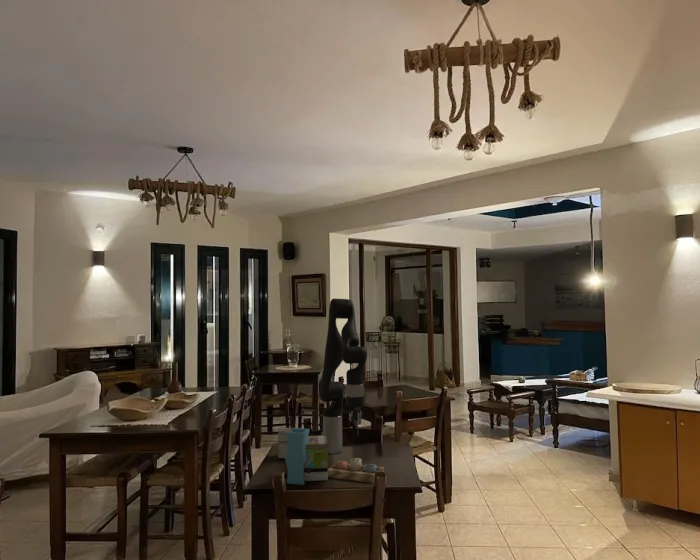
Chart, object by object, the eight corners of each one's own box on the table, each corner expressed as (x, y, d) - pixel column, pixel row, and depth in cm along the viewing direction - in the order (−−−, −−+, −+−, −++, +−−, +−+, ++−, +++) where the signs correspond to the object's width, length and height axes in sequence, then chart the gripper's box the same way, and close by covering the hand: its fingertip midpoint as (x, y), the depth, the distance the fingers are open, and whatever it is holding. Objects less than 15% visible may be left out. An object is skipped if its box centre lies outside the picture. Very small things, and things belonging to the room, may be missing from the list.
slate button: (363, 476, 217) (363, 466, 217) (367, 473, 221) (367, 462, 222) (374, 478, 215) (374, 467, 215) (378, 474, 220) (378, 464, 220)
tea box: (328, 480, 215) (328, 443, 215) (303, 481, 214) (303, 444, 214) (326, 469, 230) (326, 434, 230) (302, 470, 229) (302, 435, 229)
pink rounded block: (333, 473, 222) (333, 463, 222) (338, 469, 226) (338, 459, 226) (344, 474, 220) (344, 464, 220) (348, 471, 224) (348, 461, 224)
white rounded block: (348, 470, 219) (348, 460, 219) (352, 467, 224) (352, 457, 224) (359, 472, 218) (359, 461, 218) (363, 468, 222) (363, 458, 222)
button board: (327, 477, 219) (327, 469, 219) (337, 469, 229) (337, 462, 230) (375, 482, 212) (375, 475, 212) (384, 474, 222) (384, 467, 222)
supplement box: (277, 458, 246) (277, 430, 247) (285, 453, 253) (285, 427, 254) (291, 459, 244) (291, 432, 244) (299, 455, 251) (299, 428, 251)
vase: (293, 476, 220) (292, 427, 221) (310, 478, 218) (310, 428, 219) (285, 483, 212) (285, 432, 213) (304, 484, 210) (303, 433, 211)
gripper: (352, 391, 229) (352, 432, 229) (340, 396, 217) (341, 439, 216) (368, 392, 227) (369, 433, 226) (358, 397, 214) (358, 441, 214)
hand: (355, 436), depth 221 cm, fingers closed
